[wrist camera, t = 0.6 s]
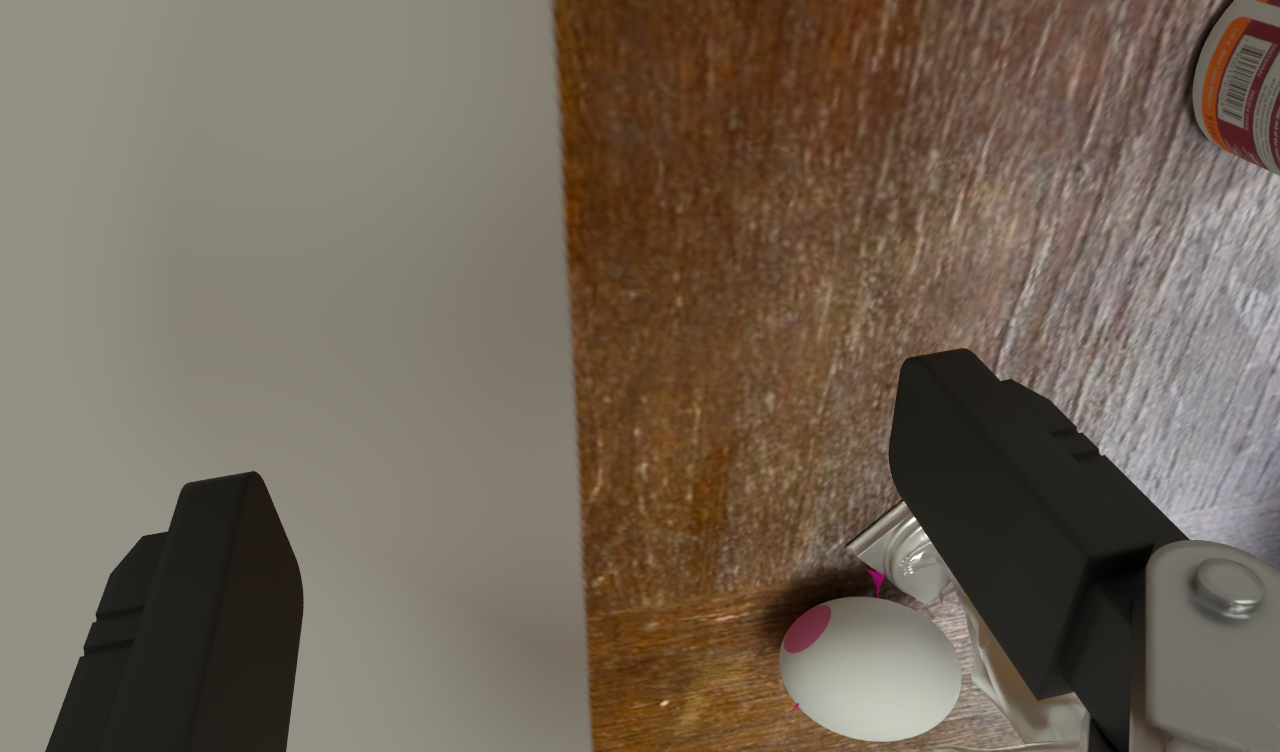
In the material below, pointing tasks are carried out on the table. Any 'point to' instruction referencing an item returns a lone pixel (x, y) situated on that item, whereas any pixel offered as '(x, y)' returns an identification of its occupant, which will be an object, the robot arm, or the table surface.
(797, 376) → the table surface
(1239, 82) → the pill bottle
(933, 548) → the figurine
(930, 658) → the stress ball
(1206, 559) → the robot arm
